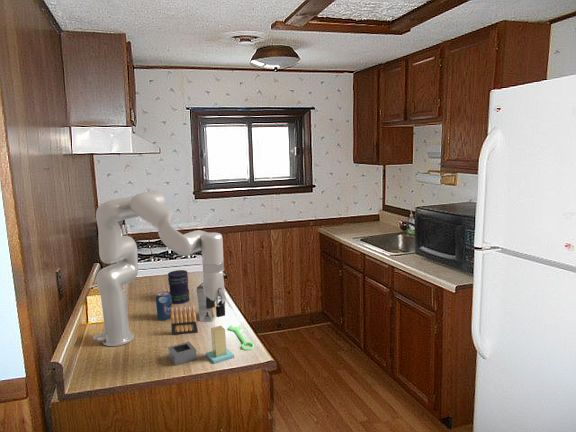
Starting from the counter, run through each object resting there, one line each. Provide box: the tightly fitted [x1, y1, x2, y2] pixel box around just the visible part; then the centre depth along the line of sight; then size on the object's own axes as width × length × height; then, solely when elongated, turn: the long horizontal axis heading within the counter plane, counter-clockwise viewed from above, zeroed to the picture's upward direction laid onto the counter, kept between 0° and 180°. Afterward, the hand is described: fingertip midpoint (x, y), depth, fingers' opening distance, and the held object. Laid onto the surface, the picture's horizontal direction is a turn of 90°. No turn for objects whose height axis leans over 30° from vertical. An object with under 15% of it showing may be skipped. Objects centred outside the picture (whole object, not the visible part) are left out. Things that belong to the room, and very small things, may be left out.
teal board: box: [205, 347, 235, 364], centre depth 167 cm, size 8×8×1 cm
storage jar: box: [167, 269, 190, 305], centre depth 229 cm, size 10×10×15 cm
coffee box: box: [196, 282, 219, 322], centre depth 205 cm, size 9×6×16 cm
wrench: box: [228, 325, 255, 351], centre depth 183 cm, size 25×2×5 cm
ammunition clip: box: [170, 304, 198, 336], centre depth 189 cm, size 11×2×12 cm, turn 97°
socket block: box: [167, 341, 198, 366], centre depth 167 cm, size 8×8×4 cm
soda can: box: [155, 290, 173, 321], centre depth 207 cm, size 7×7×12 cm
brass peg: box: [210, 325, 227, 357], centre depth 166 cm, size 4×4×10 cm
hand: (215, 311), depth 165 cm, fingers open, 9 cm apart
